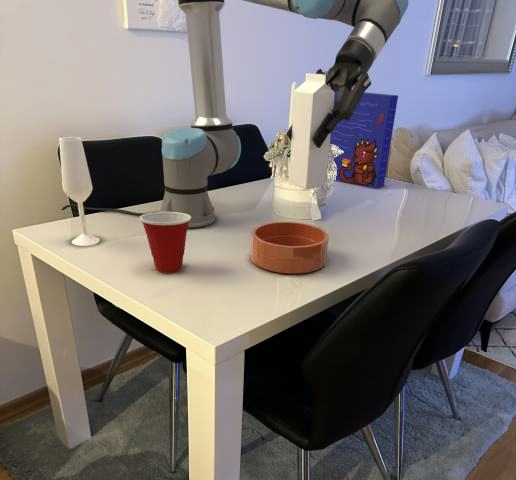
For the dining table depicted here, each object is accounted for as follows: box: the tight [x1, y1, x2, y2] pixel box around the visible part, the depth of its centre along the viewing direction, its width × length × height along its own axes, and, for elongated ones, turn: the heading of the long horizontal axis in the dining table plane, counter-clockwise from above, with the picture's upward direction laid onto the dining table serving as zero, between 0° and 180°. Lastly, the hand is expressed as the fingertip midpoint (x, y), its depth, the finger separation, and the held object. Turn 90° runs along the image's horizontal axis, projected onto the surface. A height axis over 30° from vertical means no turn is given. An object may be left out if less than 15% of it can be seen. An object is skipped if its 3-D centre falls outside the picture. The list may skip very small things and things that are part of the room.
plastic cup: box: [139, 211, 191, 274], centre depth 110 cm, size 11×11×12 cm
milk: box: [288, 72, 335, 190], centre depth 108 cm, size 6×6×22 cm
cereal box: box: [330, 91, 399, 190], centre depth 180 cm, size 22×6×30 cm, turn 52°
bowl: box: [250, 221, 330, 275], centre depth 118 cm, size 18×18×6 cm
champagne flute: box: [58, 136, 100, 247], centre depth 119 cm, size 7×7×24 cm
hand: (302, 140), depth 107 cm, fingers closed on milk, 7 cm apart
